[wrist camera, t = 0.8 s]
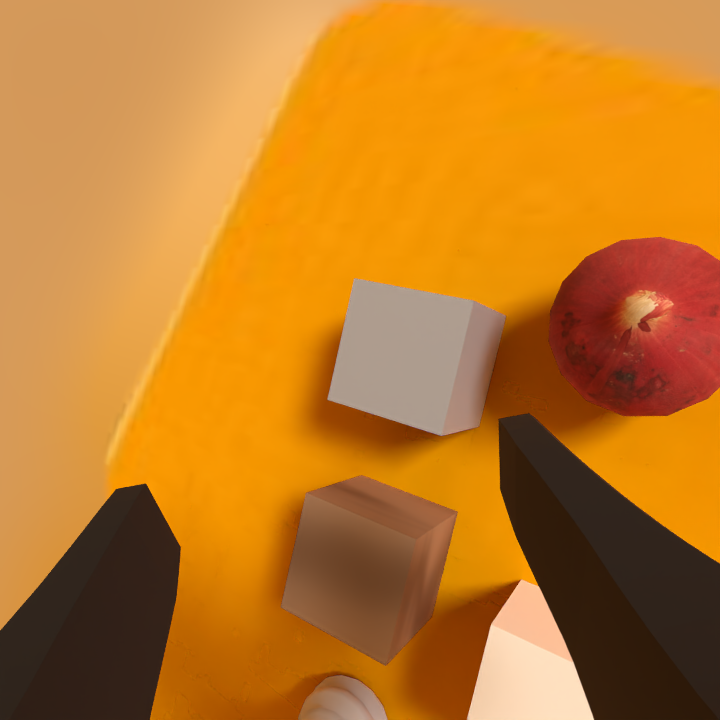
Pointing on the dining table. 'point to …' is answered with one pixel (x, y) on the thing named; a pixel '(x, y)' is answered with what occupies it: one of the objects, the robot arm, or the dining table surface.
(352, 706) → the rook chess piece
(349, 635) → the walnut cube
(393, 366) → the light grey cube
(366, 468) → the dining table surface
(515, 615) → the cream cube
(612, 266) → the onion
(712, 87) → the dining table surface
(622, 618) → the robot arm
